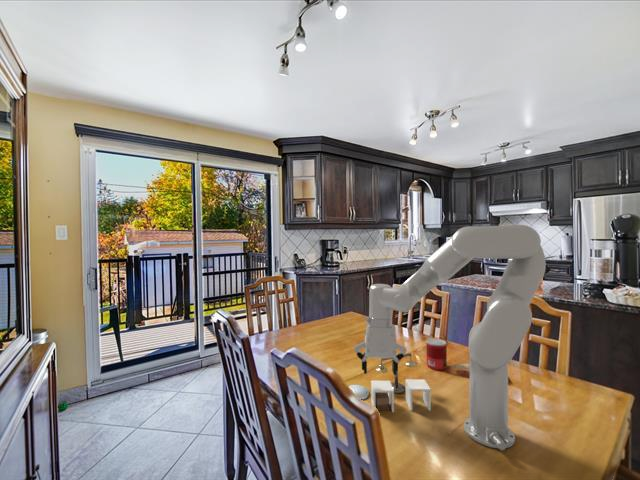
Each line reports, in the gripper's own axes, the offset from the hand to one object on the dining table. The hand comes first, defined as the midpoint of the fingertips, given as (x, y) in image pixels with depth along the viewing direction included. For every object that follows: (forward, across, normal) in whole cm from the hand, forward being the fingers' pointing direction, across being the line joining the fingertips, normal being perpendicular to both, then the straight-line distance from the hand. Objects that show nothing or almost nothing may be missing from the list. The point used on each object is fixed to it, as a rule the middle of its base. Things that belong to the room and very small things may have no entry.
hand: (379, 372), depth 99 cm
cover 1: (+11, +1, 0) cm, 11 cm away
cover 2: (+11, +13, 0) cm, 17 cm away
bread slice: (+11, +43, +22) cm, 49 cm away
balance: (+11, +8, +10) cm, 17 cm away
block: (+11, +1, 0) cm, 11 cm away
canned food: (+11, +29, +30) cm, 43 cm away
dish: (+12, -7, +8) cm, 15 cm away
